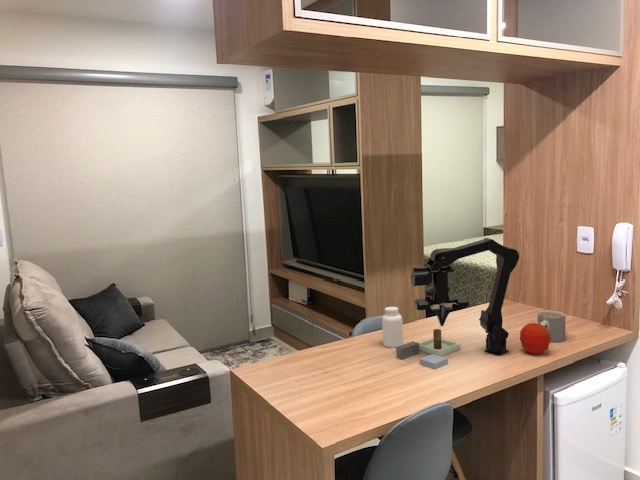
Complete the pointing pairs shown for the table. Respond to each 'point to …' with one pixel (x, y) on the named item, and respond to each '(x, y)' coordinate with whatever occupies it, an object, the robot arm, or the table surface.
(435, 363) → the board
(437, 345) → the dowel
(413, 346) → the dark gray block
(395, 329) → the pill bottle
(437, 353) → the tray
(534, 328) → the apple
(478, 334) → the table surface
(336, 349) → the table surface
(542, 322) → the coffee mug
